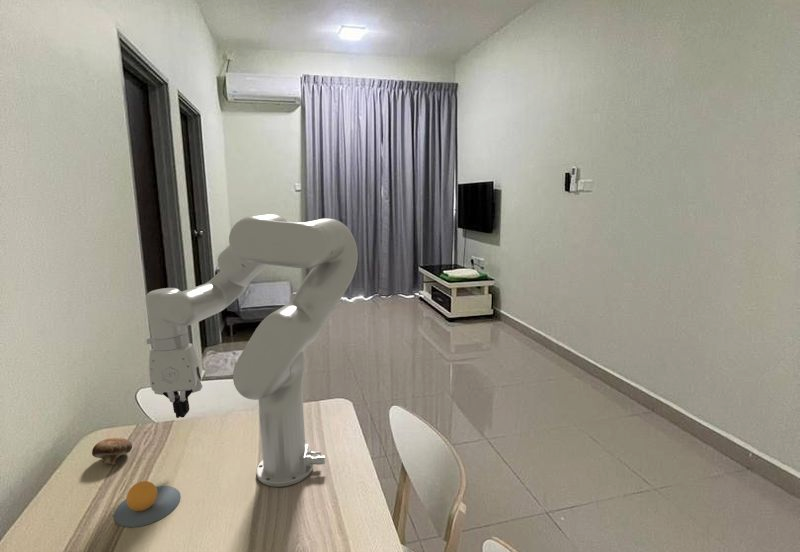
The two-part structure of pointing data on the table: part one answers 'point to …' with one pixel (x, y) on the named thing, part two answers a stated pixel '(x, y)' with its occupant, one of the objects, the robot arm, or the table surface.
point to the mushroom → (111, 449)
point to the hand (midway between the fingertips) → (182, 414)
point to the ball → (141, 496)
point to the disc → (149, 509)
